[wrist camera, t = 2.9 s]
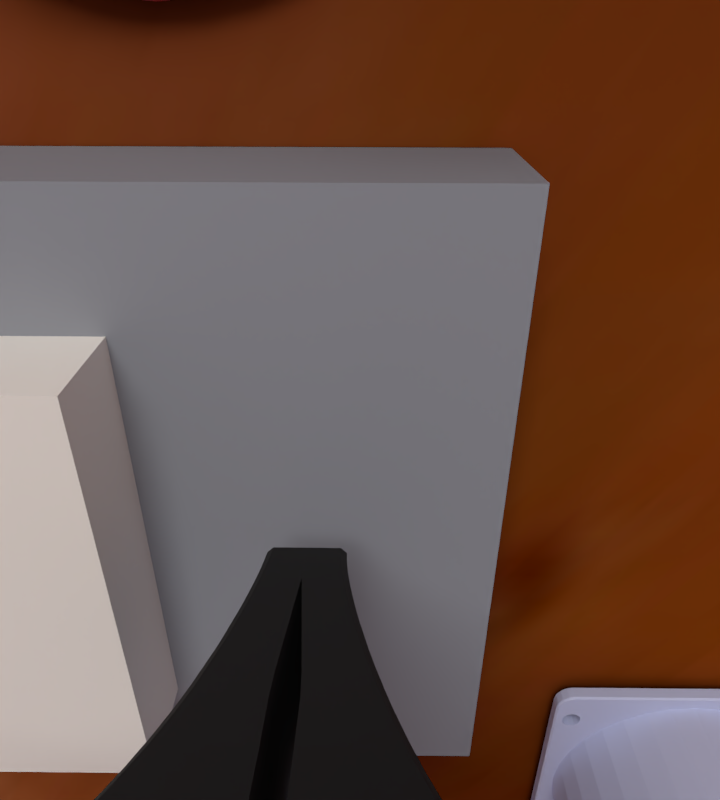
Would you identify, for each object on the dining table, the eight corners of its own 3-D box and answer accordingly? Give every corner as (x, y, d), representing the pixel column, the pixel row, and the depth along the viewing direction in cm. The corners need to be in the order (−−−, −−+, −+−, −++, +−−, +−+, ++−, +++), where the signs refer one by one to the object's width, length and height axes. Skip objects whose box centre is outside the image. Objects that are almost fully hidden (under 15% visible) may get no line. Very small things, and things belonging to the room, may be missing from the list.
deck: (455, 656, 19) (469, 756, 17) (-60, 652, 20) (-125, 749, 17) (511, 148, 12) (549, 183, 10) (-293, 144, 13) (-465, 179, 10)
